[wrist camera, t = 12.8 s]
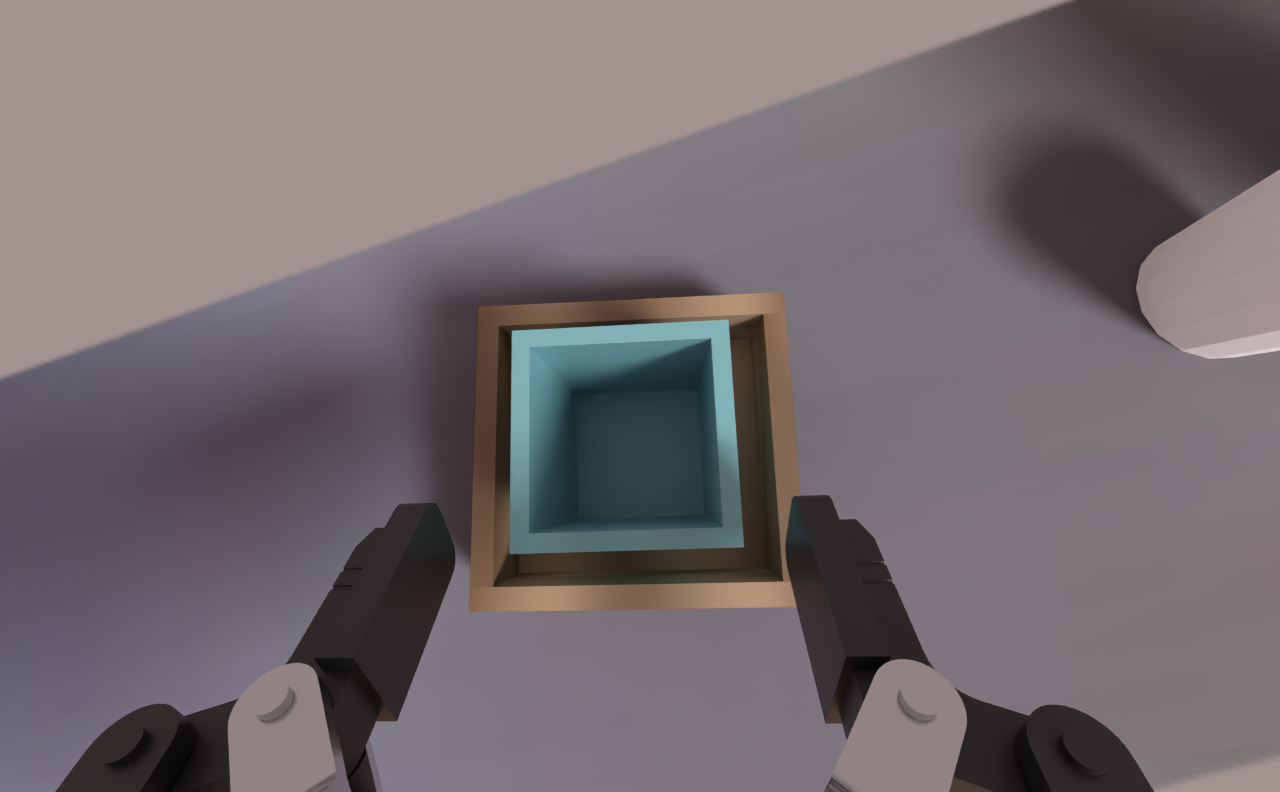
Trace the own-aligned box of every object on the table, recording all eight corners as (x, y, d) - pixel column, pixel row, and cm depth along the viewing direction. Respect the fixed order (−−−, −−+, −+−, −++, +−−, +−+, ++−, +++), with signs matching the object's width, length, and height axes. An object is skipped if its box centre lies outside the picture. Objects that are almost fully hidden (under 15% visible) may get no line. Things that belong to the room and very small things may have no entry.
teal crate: (708, 380, 22) (728, 319, 14) (716, 526, 21) (743, 547, 13) (567, 387, 22) (511, 330, 15) (569, 531, 21) (509, 554, 13)
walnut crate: (764, 325, 23) (783, 292, 19) (783, 585, 21) (809, 606, 17) (510, 337, 24) (478, 306, 20) (505, 590, 22) (469, 612, 18)
